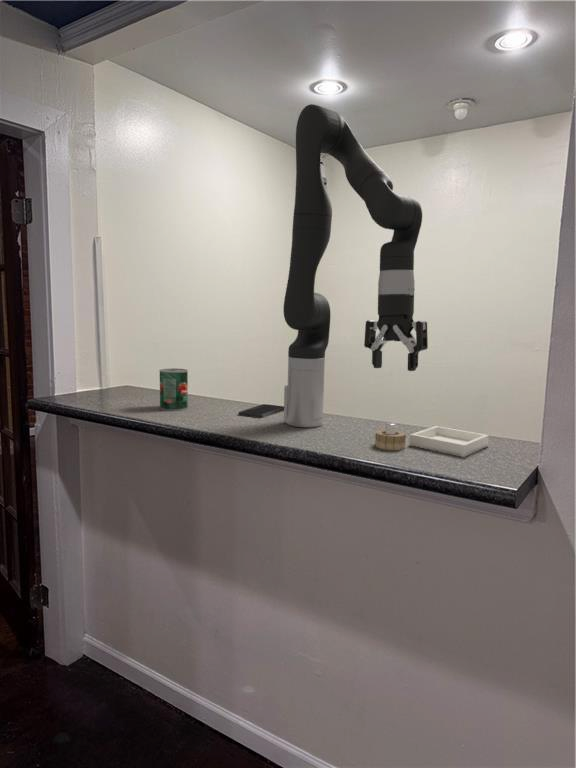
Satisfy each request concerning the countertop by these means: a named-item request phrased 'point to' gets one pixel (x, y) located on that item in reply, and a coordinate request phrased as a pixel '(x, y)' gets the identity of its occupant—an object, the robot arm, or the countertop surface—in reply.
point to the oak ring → (390, 440)
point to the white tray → (449, 441)
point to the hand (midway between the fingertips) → (394, 369)
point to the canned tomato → (173, 389)
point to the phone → (262, 411)
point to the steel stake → (390, 429)
